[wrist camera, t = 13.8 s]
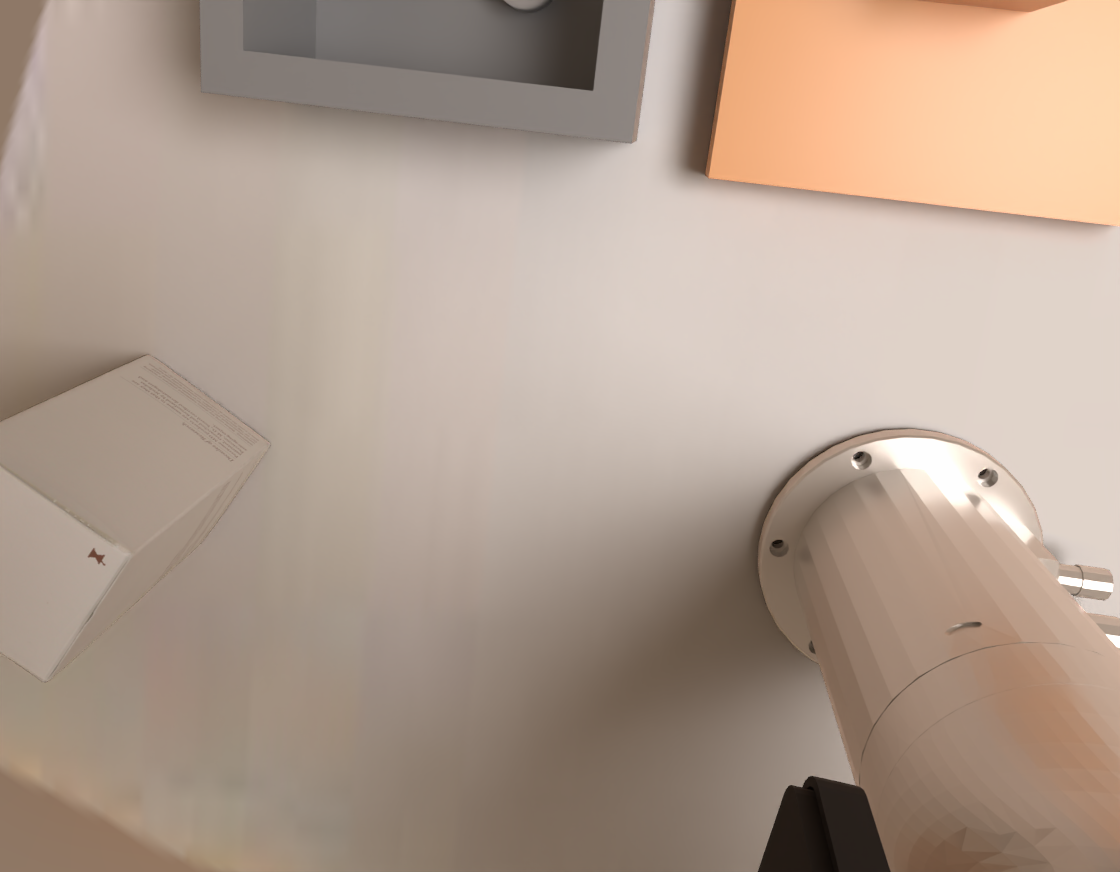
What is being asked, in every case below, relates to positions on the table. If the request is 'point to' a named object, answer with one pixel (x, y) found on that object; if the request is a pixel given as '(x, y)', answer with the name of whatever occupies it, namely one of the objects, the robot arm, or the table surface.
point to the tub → (439, 59)
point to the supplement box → (107, 503)
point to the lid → (926, 102)
